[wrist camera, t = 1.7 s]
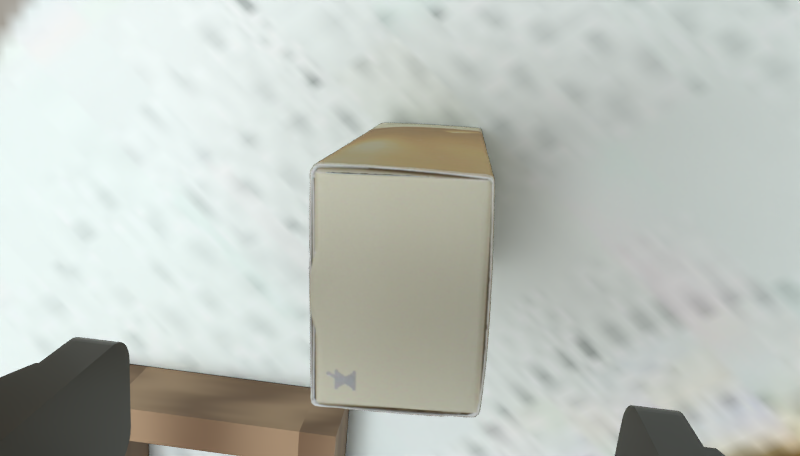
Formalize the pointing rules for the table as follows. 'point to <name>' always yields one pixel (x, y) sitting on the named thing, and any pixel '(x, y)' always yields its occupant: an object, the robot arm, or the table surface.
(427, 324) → the skincare box
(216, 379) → the walnut socket
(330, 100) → the table surface
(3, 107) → the table surface
